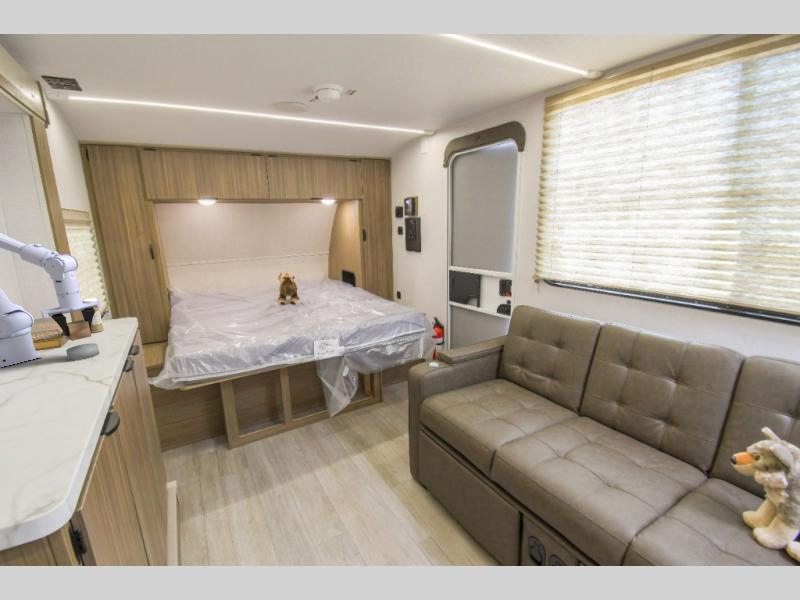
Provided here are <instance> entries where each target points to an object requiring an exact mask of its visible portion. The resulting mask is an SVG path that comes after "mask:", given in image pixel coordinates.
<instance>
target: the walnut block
mask: <svg viewBox="0 0 800 600" xmlns="http://www.w3.org/2000/svg"><path fill="white" fill-rule="evenodd" d="M67 327H68V330H69V334H70V336H66V338H67V340H69V341H72V342H73V341H77V340H81V339H86V338H90V337H92V333H91V332H90V328H89V324H88V322H87V321H84V319H80V320H75V321H70V322H67Z"/></svg>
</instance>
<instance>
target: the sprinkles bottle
mask: <svg viewBox="0 0 800 600" xmlns="http://www.w3.org/2000/svg"><path fill="white" fill-rule="evenodd" d="M95 301H98V299H97V298H95V297H93V298H86V299H82V302H83V303H88V302H95ZM94 309H95V314H94V316H93V319H92V325H91V331H90V332H91V334H96V332H97V333H100V331H101V332H103V331H104V326H103V320H102V315H101V311H100V307H99V308H94Z"/></svg>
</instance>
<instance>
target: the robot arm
mask: <svg viewBox="0 0 800 600" xmlns="http://www.w3.org/2000/svg"><path fill="white" fill-rule="evenodd" d="M0 249H3V250H6V251H9V252H11V253H14V254H18V255H19V256H20V259H21V260H23V261H25V262H28V263H30V264H33V265H35V266H38V267H40V268H43V269H44V271H45V272H46V273H47V274H49V276H50V279H51V280H52V282H53V286H54V291H55V294H56V298H57V301H58V306H59V307H54V308H50V309H46V310H40V314H41V317H42V318H45V319H46V318H49V317H50V318H52V320H53V321H54V322H55V323H57V324H58V326H59V328H60V329H61V330H62V331H63V333H64V336H65V337H67V336H70V334H69V330H68V327H67V323H68V322H67V316H65V314H70V313H75V312H81V315H82V318H83V320H84V321H87V322H88V324H89V328H90V331H91V325H92V319H93V316H94V314H95V309H94V308H99V309H100V308H102V305H101V301H98V300H97V301H95V302H88V303H83V298H82V294H81V291H80V286H79V283H78V282H79V281H78V278H77V273H76V270H78V267H79V262H78V260H77V259H76V257H74V256H72V255H71V254H69V253H66V254H65V253H63V254H60V253H59V252H58V251H55V250H54V251H52V250H50V249H48V248H45V247H43V245H42V244H41V243H28V244H26V243H23V242H22V241H19V240H17V239H15V238H13V237H10V236H8V235H6V234H4V233H2V232H0ZM34 324H35V319H34V317H33V315H32V314H31V313H29V312H28V311H26V309H24V308H23V306H21V305H19V304H16V303H13V302H11V300H10V299H9V298H8V296H7V294H6V293H5V291H4V290H3V289H2V288H1V287H0V368H1V367H3V368H5V367H4V366H7V367H10V366H9V365H11V366H14V365H13V364H15V365H18V364H17V363H19V364H21V363H20V362H23V363H25V362H24V361H27V362H29V361H28V360H31V361H34V360H33V359H35V360H37V359H36V358H39V359H41V358H42V356H41V355H40V354H38V353H37V351H36V347H35V343H34V340H33V337H32V332H31V331H32V327H33V326H34Z"/></svg>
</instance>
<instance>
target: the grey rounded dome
mask: <svg viewBox="0 0 800 600" xmlns="http://www.w3.org/2000/svg"><path fill="white" fill-rule="evenodd" d="M65 352H66V355H67V356H66V357H67V360H68V359H69V360H68V361H70V360H77V361H82V360H81V359H84V360H87V358H88V359H90V357H91V358H93V357H97V356H98V355H99V354H100V349H99V346H98V343H95V342H93V343H92V342H91V343H83V344H82V343H81V344H77V345H74V346H71V347H69V348H67V349H66V351H65Z"/></svg>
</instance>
